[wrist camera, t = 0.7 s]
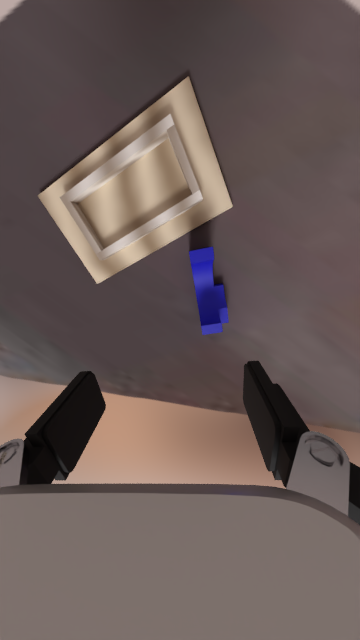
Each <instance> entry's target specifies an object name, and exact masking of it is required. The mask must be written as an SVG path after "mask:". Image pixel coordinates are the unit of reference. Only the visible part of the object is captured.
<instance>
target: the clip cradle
mask: <svg viewBox="0 0 360 640" xmlns="http://www.w3.org/2000/svg"><path fill="white" fill-rule="evenodd" d="M38 197H39V198H40V200H41V201H42V203H43V204H44V206H45V207H46V209H47V210H48V212H49V213H50V215H51V216H52V218H53V219H54V221H55V222H56V224H57V225H58V226H59V228H60V229H61V231H62V232H63V234H64V235H65V237H66V238H67V240H68V241H69V243H70V244H71V246H72V247H73V249H74V250H75V252H76V253H77V255H78V256H79V258H80V259H81V260H82V262H83V263H84V265H85V266H86V268H87V269H88V271H89V272H90V274H91V275H92V277H93V278H94V280H95V281H96V283H97V284H98V283H100V282H102V281H104V280H105V279H107V278H109V277H111V276H112V275H114V274H116V273H118V272H119V271H121V270H123V269H125V268H126V267H128V266H130V265H132V264H133V263H135V262H137V261H139V260H140V259H142V258H144V257H146V256H147V255H149V254H151V253H153V252H154V251H156V250H158V249H160V248H161V247H163V246H165V245H167V244H168V243H170V242H172V241H174V240H175V239H177V238H179V237H181V236H182V235H184V234H186V233H188V232H189V231H191V230H193V229H195V228H196V227H198V226H200V225H202V224H204V223H205V222H207V221H209V220H211V219H212V218H214V217H216V216H218V215H219V214H221V213H223V212H225V211H226V210H228V209H230V208H232V207H233V206H232V203H231V200H230V197H229V194H228V191H227V188H226V185H225V182H224V179H223V176H222V173H221V170H220V167H219V164H218V162H217V159H216V156H215V153H214V150H213V147H212V144H211V141H210V138H209V135H208V132H207V129H206V126H205V123H204V120H203V117H202V114H201V111H200V108H199V105H198V103H197V100H196V97H195V94H194V91H193V88H192V85H191V82H190V79H189V76H188V77H187V78H186V79H184V80H183V81H182V82H181V83H179V84H178V85H177V86H176V87H174V88H173V89H172V90H170V91H169V92H168V93H167V94H165V95H164V96H163V97H162V98H160V99H159V100H158V101H157V102H155V103H154V104H153V105H152V106H150V107H149V108H148V109H146V110H145V111H144V112H143V113H141V114H140V115H139V116H138V117H136V118H135V119H134V120H133V121H131V122H130V123H129V124H128V125H126V126H125V127H124V128H123V129H121V130H120V131H119V132H117V133H116V134H115V135H114V136H112V137H111V138H110V139H109V140H107V141H106V142H105V143H104V144H102V145H101V146H100V147H99V148H97V149H96V150H95V151H94V152H92V153H91V154H90V155H88V156H87V157H86V158H85V159H83V160H82V161H81V162H80V163H78V164H77V165H76V166H75V167H73V168H72V169H71V170H70V171H68V172H67V173H66V174H64V175H63V176H62V177H61V178H59V179H58V180H57V181H56V182H54V183H53V184H52V185H51V186H49V187H48V188H47V189H46V190H44V191H43V192H42V193H41V194H39V195H38Z"/></svg>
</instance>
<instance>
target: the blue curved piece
mask: <svg viewBox="0 0 360 640" xmlns="http://www.w3.org/2000/svg"><path fill="white" fill-rule="evenodd" d="M189 254H190V261H191V266H192V272H193V278H194V284H195V290H196V296H197V302H198V308H199V315H200V321H201V328H202V334H203V335H205V334H212V333H218V332H223V331H222V323H228V312H227V305H226V300H225V294H224V287H223V284H222V283H221V284H216V285H214V283H213V260H214V253H213V247H206V248H202V249H197V250H192V251H189Z"/></svg>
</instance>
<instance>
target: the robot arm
mask: <svg viewBox="0 0 360 640" xmlns="http://www.w3.org/2000/svg"><path fill="white" fill-rule="evenodd" d="M243 401H244V405H245V408H246V411H247V414H248V417H249V419H250V422H251V425H252V428H253V431H254V434H255V436H256V439H257V442H258V445H259V447H260V450H261V453H262V456H263V459H264V462H265V465H266V467H267V469H268V471H272V473H273V476H274V478H275V480H282V482H283V484H284V486H285V487H286V489H283V488H277V487H269V486H256V485H228V484H51V483H52V481H53V480H54V478H55V480H66V479H67V477H68V475H69V473H70V472H72V471H73V469H74V468H75V466H76V464H77V462H78V460H79V458H80V456H81V454H82V453H83V451H84V449H85V447H86V445H87V443H88V441H89V439H90V437H91V435H92V433H93V431H94V430H95V428H96V426H97V424H98V422H99V420H100V418H101V416H102V415H103V413H104V410H105V406H106V404H105V401H104V398H103V396H102V393H101V390H100V388H99V385H98V382H97V380H96V377H95V375H94V373H92V372H91V371H82V372H80V373H79V374H78V375H77V376H76V377H75V378H74V379H73V380H72V381H71V383H70V384H69V385H68V386H67V387H66V388H65V390H63V392H62V393H61V394H60V395H59V396H58V397H57V398H56V399H55V401H54V402H53V403H52V404H51V405H50V406H49V407H48V408H47V410H46V411H45V412H44V413H43V414H42V415H41V416H40V417H39V419H38V420H37V421H36V422H35V423H34V424H33V425H32V426H31V428H30V429H29V430H28V431H27V432H26V433H25V436H26V437H27V438H26V439H25V440H24V441H23V440H22V439H14V440H11V441H8V442H6V443H5V444H3V445H1V446H0V640H360V467H358V466H356V465H355V464H353V463H351V462H349V458H348V456H347V454H346V452H345V451H344V450H343V448H342V447H341V446H340V445H339V444H338V443H336V442H335V441H334V440H333V439H331V438H330V437H328V436H326V435H324V434H321V433H319V432H313V431H311V432H310V431H309V429H308V427H307V426H306V424H305V423H304V421H303V420H302V418H301V417H300V415H299V414H298V412H297V411H296V409H295V408H294V406H293V405H292V403H291V402H290V400H289V399H288V397H287V396H286V394H285V393H284V391H283V390H282V388H281V387H280V386H279V385H278V384H273V383H272V382H271V380H270V378H269V377H268V375H267V374H266V372H265V370H264V369H263V367H262V366H261V364H260V362H259V361H248V363H247V364H245V365H244V387H243Z"/></svg>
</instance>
